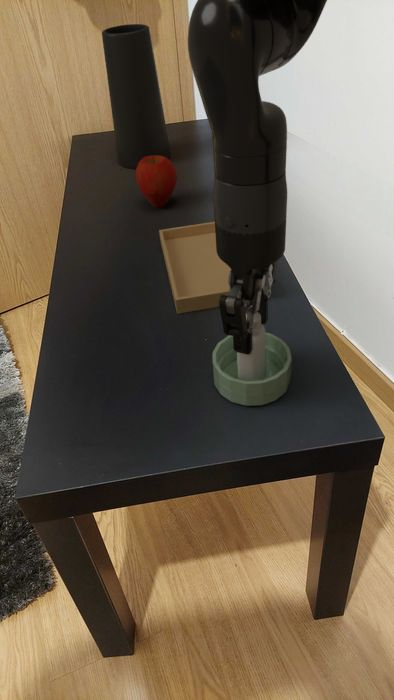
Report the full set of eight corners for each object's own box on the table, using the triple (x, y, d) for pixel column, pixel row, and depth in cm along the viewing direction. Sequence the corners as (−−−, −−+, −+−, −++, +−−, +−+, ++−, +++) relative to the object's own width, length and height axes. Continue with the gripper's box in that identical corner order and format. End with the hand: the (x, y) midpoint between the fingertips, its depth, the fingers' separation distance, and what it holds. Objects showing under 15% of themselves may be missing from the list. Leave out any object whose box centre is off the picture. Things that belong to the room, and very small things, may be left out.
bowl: (298, 363, 71) (300, 339, 68) (277, 416, 64) (278, 391, 61) (229, 348, 75) (228, 324, 72) (203, 396, 68) (200, 372, 65)
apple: (181, 196, 114) (176, 147, 106) (177, 214, 107) (171, 163, 100) (144, 197, 115) (136, 149, 108) (137, 215, 108) (129, 165, 101)
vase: (127, 148, 138) (106, 24, 119) (176, 148, 135) (162, 20, 116) (111, 169, 128) (85, 37, 109) (163, 169, 126) (146, 33, 106)
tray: (269, 298, 83) (269, 284, 81) (177, 314, 82) (175, 300, 80) (237, 231, 100) (236, 218, 98) (160, 242, 99) (158, 230, 97)
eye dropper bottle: (225, 380, 69) (221, 310, 61) (253, 359, 72) (253, 290, 64) (249, 396, 67) (248, 326, 59) (277, 374, 69) (280, 304, 61)
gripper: (263, 253, 47) (262, 381, 58) (303, 187, 57) (295, 308, 68) (189, 242, 50) (201, 366, 61) (239, 180, 59) (242, 298, 70)
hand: (251, 335), depth 64 cm, fingers closed on eye dropper bottle, 5 cm apart
